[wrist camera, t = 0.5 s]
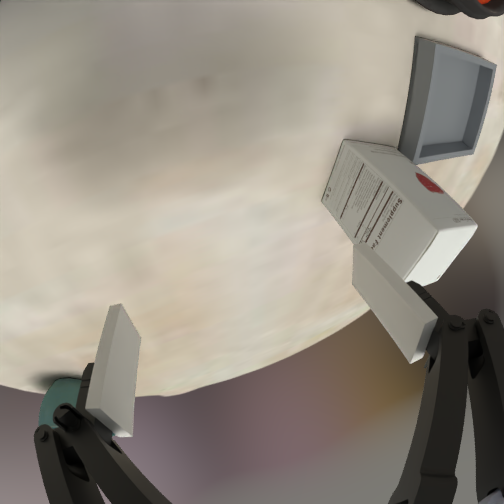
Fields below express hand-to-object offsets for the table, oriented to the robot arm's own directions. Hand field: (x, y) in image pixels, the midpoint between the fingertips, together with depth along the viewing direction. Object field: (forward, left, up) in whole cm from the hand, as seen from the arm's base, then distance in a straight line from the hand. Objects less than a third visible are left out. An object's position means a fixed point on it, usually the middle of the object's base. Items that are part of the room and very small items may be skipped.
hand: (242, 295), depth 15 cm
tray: (-3, +33, -15) cm, 36 cm away
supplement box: (+7, +19, -15) cm, 25 cm away
